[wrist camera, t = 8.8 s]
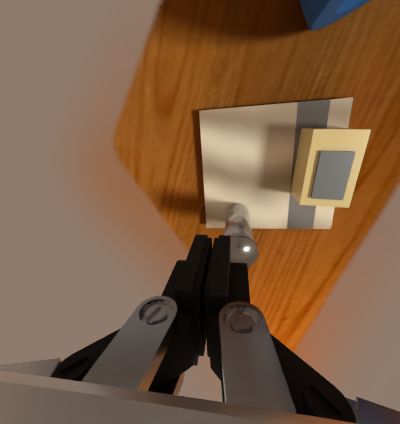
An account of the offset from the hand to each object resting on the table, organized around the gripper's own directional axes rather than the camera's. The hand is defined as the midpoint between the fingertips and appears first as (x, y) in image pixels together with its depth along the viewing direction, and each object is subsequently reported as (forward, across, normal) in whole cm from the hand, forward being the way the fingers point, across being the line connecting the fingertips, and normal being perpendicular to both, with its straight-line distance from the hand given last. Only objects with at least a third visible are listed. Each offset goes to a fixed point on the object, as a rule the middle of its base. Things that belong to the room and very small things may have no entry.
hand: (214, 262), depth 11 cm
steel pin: (+17, -1, +4) cm, 17 cm away
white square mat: (+18, -5, -1) cm, 18 cm away
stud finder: (+16, -10, -2) cm, 19 cm away
